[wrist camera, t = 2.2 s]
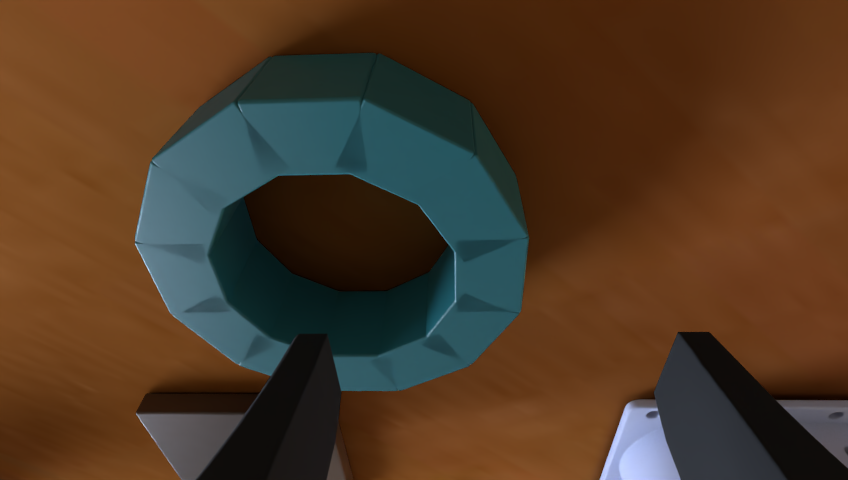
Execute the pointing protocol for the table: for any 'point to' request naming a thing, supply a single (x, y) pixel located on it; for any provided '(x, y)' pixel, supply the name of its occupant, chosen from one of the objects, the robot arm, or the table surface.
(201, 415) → the stand
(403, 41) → the table surface
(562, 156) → the table surface
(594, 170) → the table surface
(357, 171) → the ring
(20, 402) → the table surface
